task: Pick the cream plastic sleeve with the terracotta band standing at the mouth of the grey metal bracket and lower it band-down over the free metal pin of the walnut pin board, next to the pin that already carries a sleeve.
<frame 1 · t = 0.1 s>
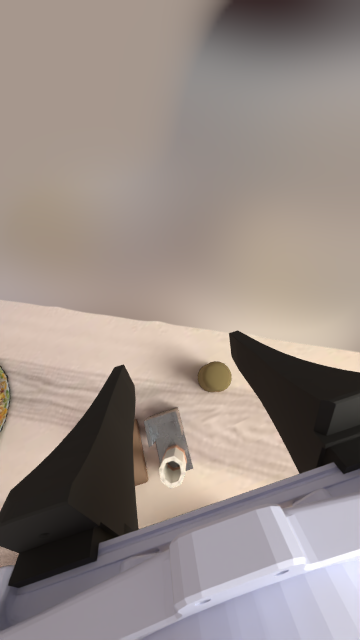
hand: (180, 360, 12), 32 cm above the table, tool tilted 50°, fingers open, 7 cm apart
sleeve: (174, 458, 37), resting on grey metal bracket
pin board: (123, 453, 38), on the table
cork: (210, 377, 43), on the table
grey metal bracket: (174, 457, 38), on the table
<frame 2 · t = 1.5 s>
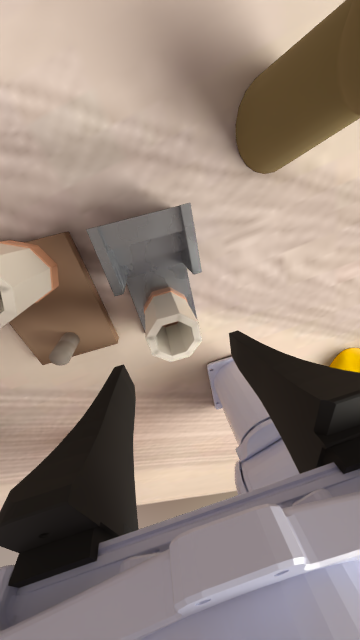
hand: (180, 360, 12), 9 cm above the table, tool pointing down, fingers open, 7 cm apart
sleeve: (166, 308, 20), resting on grey metal bracket
pin board: (56, 303, 18), on the table
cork: (270, 127, 15), on the table
grey metal bracket: (165, 306, 20), on the table
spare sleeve: (27, 271, 15), point 1 cm above the table, touching pin board
element tile: (347, 381, 34), on the table
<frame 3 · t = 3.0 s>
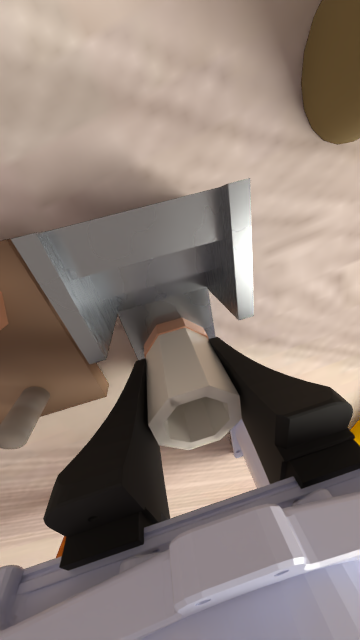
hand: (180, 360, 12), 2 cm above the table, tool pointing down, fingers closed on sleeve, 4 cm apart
sleeve: (176, 346, 14), resting on grey metal bracket, touching gripper
pin board: (12, 344, 12), on the table
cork: (357, 61, 9), on the table
grey metal bracket: (175, 342, 14), on the table
when the fingers open (4 cm above the table, at t = 7.1 s): sleeve stays where it is, resting on pin board.
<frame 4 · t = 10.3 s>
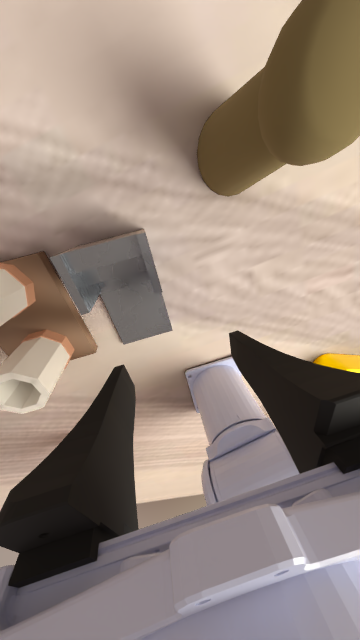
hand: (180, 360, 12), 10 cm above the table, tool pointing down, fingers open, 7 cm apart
sleeve: (49, 348, 20), point 1 cm above the table, touching pin board
pin board: (35, 316, 19), on the table
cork: (230, 154, 16), on the table
grey metal bracket: (141, 318, 21), on the table
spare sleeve: (5, 288, 16), point 1 cm above the table, touching pin board
element tile: (326, 384, 35), on the table
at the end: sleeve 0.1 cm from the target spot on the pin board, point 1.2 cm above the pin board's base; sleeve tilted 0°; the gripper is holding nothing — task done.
